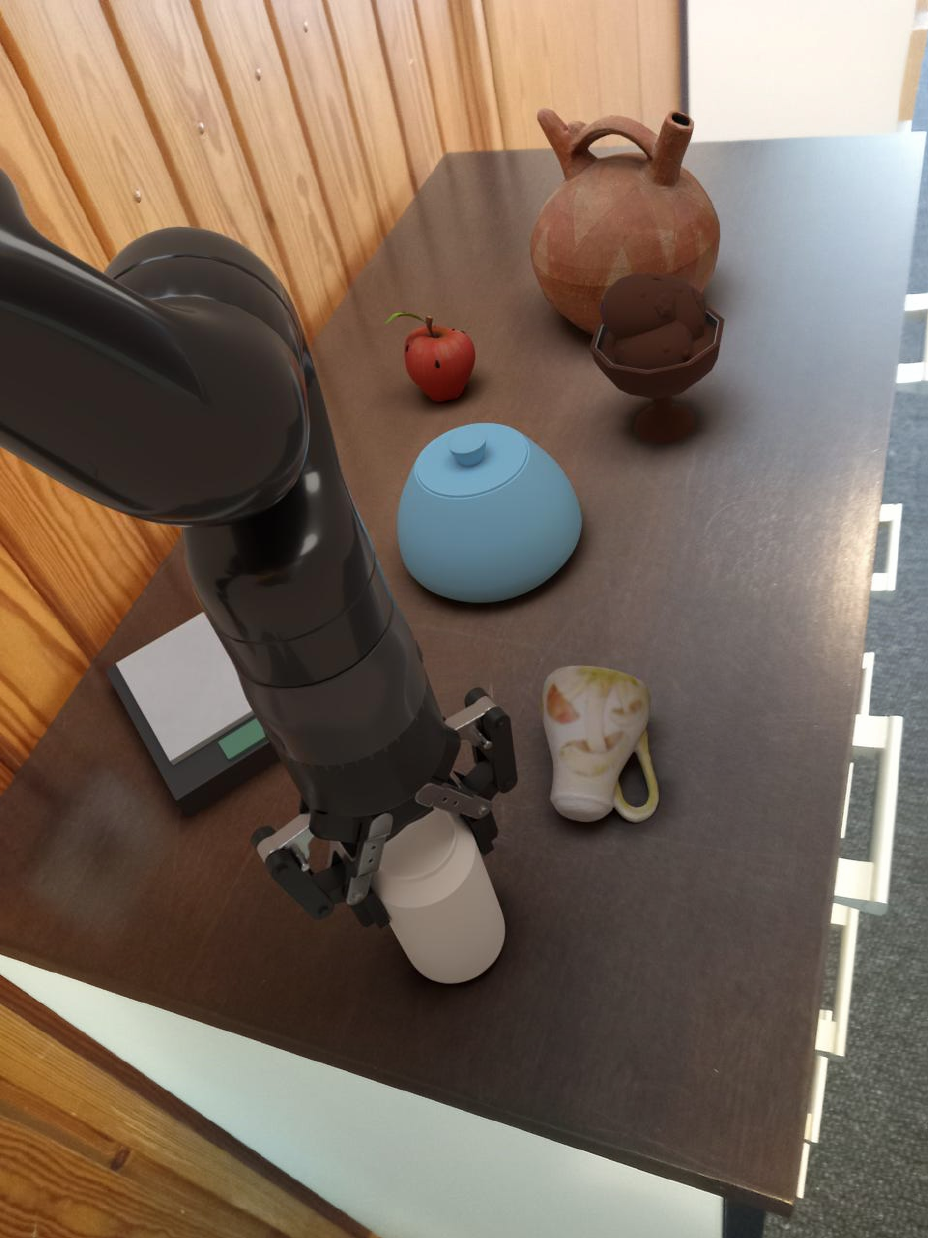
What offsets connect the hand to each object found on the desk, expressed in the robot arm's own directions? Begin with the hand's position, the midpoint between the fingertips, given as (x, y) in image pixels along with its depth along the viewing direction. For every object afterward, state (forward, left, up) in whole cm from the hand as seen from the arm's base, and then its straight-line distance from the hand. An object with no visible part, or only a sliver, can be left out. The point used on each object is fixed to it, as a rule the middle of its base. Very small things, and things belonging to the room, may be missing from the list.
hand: (428, 877), depth 57 cm
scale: (-3, +28, -8) cm, 29 cm away
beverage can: (0, 0, -8) cm, 8 cm away
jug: (+51, +46, -8) cm, 69 cm away
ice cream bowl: (+41, +29, -8) cm, 51 cm away
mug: (+14, +4, -8) cm, 17 cm away
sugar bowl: (+21, +27, -8) cm, 35 cm away
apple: (+30, +49, -8) cm, 58 cm away
